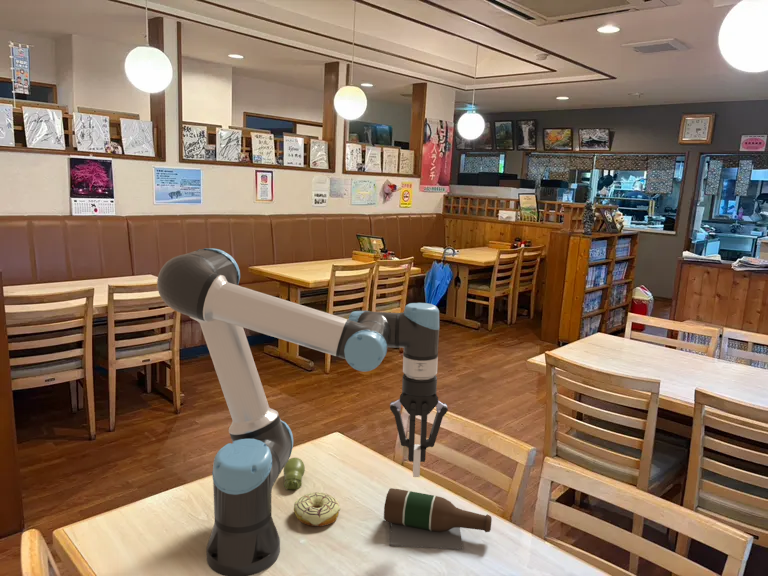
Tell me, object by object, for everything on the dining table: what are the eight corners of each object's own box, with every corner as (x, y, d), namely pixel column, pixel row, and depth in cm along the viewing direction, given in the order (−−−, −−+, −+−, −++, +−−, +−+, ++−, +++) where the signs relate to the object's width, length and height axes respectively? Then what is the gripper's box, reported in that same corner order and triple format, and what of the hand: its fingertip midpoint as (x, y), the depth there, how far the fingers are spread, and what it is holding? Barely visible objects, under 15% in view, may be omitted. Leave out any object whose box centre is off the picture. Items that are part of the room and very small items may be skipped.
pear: (305, 453, 152) (303, 478, 142) (305, 469, 154) (303, 495, 144) (284, 453, 151) (281, 478, 142) (284, 469, 153) (281, 495, 144)
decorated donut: (318, 535, 126) (318, 520, 125) (284, 517, 132) (284, 503, 132) (347, 514, 134) (348, 500, 134) (315, 498, 141) (315, 484, 140)
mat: (389, 545, 123) (390, 543, 123) (391, 513, 135) (391, 512, 135) (462, 549, 123) (463, 547, 123) (457, 517, 135) (457, 515, 134)
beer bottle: (393, 485, 136) (493, 503, 130) (389, 519, 134) (490, 538, 128) (386, 489, 129) (491, 508, 122) (381, 525, 127) (488, 546, 121)
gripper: (389, 379, 118) (386, 481, 123) (451, 381, 118) (446, 483, 122) (390, 367, 126) (387, 464, 130) (448, 369, 125) (444, 466, 130)
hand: (416, 473), depth 126 cm, fingers closed
